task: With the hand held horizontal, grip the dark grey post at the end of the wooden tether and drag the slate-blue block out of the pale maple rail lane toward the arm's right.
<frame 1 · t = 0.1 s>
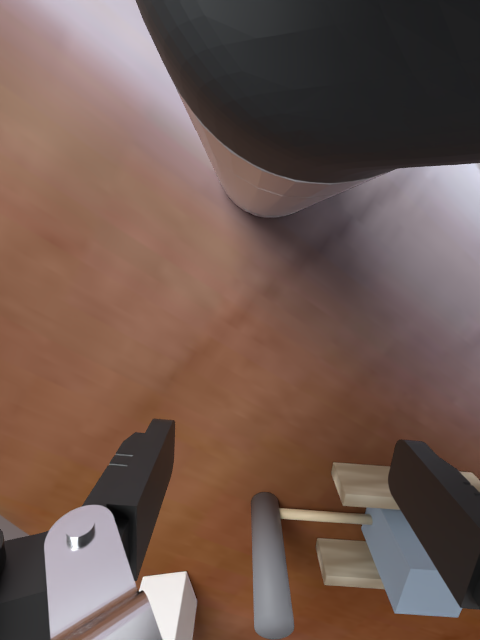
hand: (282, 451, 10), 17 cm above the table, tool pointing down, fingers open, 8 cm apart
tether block: (391, 511, 33), on the table
milk: (171, 586, 38), on the table
lane: (383, 511, 33), on the table
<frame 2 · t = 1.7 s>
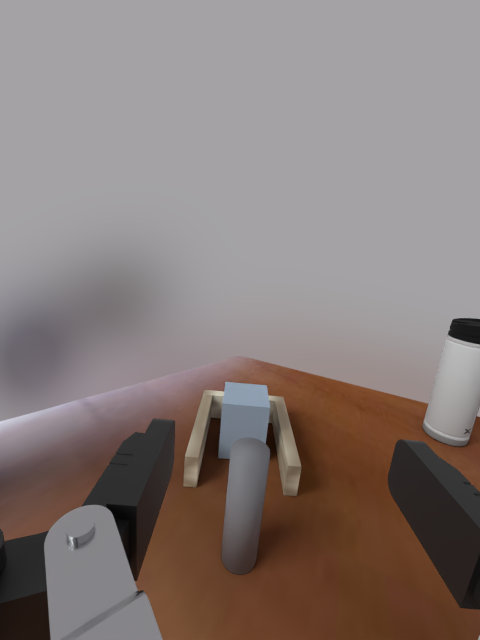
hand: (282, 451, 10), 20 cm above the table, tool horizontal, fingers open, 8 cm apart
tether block: (240, 444, 40), on the table
lane: (240, 449, 39), on the table
travel mug: (444, 436, 47), on the table
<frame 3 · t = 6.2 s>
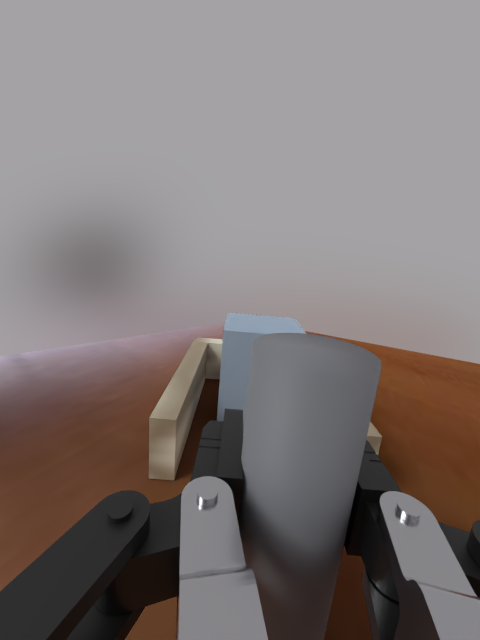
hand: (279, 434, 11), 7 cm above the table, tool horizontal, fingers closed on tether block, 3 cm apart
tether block: (254, 413, 24), on the table, touching gripper
lane: (254, 419, 23), on the table
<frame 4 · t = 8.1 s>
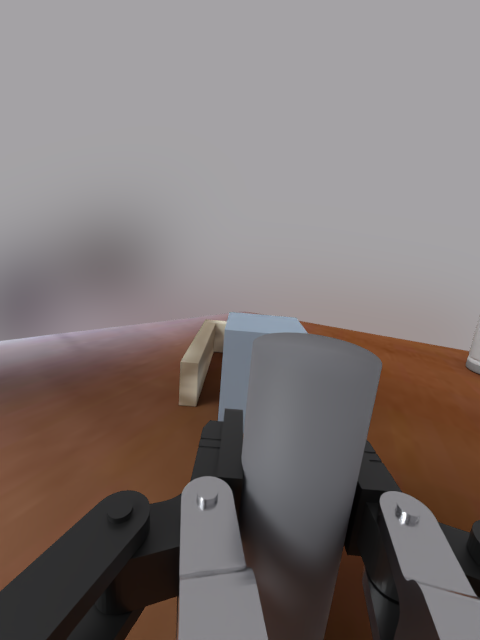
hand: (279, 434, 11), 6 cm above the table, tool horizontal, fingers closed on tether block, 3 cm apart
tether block: (255, 412, 24), on the table, touching gripper
lane: (251, 377, 31), on the table
when the fingers open (6 cm above the table, at t = 10.3 s): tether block stays where it is, on the table.
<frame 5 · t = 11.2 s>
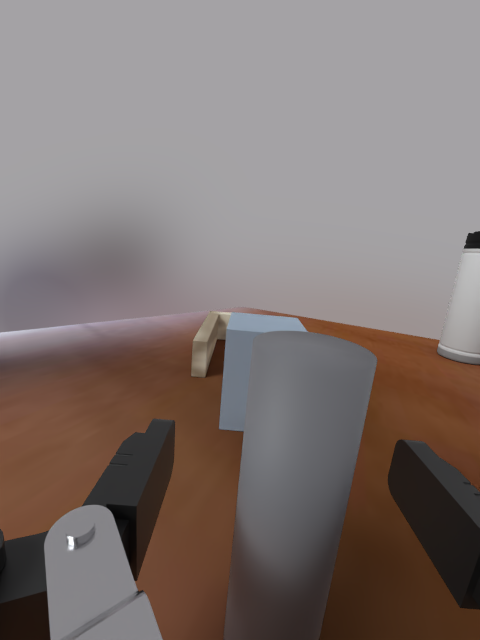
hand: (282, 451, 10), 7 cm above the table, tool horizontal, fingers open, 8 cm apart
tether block: (256, 411, 25), on the table
lane: (250, 357, 37), on the table
travel mug: (460, 358, 45), on the table
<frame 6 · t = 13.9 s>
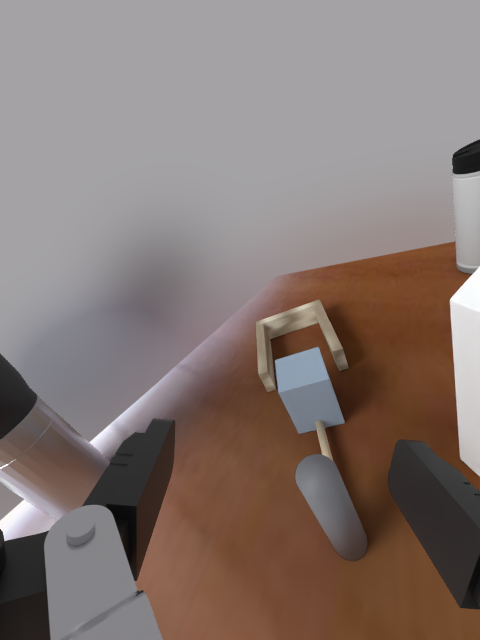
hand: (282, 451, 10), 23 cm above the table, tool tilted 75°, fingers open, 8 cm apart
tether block: (316, 410, 39), on the table
lane: (299, 352, 50), on the table
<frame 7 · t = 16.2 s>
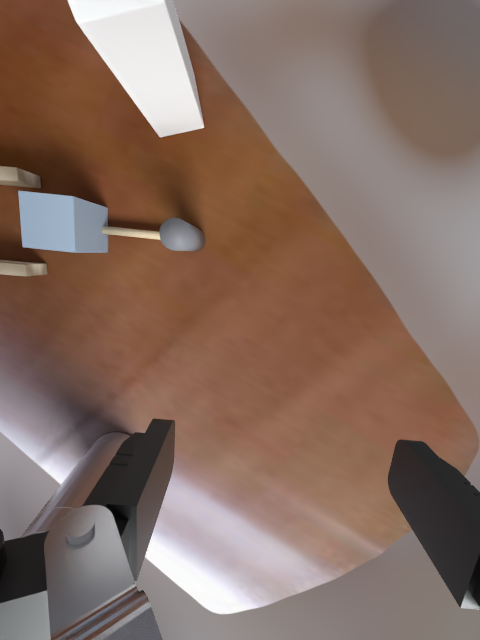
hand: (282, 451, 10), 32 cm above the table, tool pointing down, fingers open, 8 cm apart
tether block: (86, 228, 39), on the table
milk: (177, 108, 36), on the table
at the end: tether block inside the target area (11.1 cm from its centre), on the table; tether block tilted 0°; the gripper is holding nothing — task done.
